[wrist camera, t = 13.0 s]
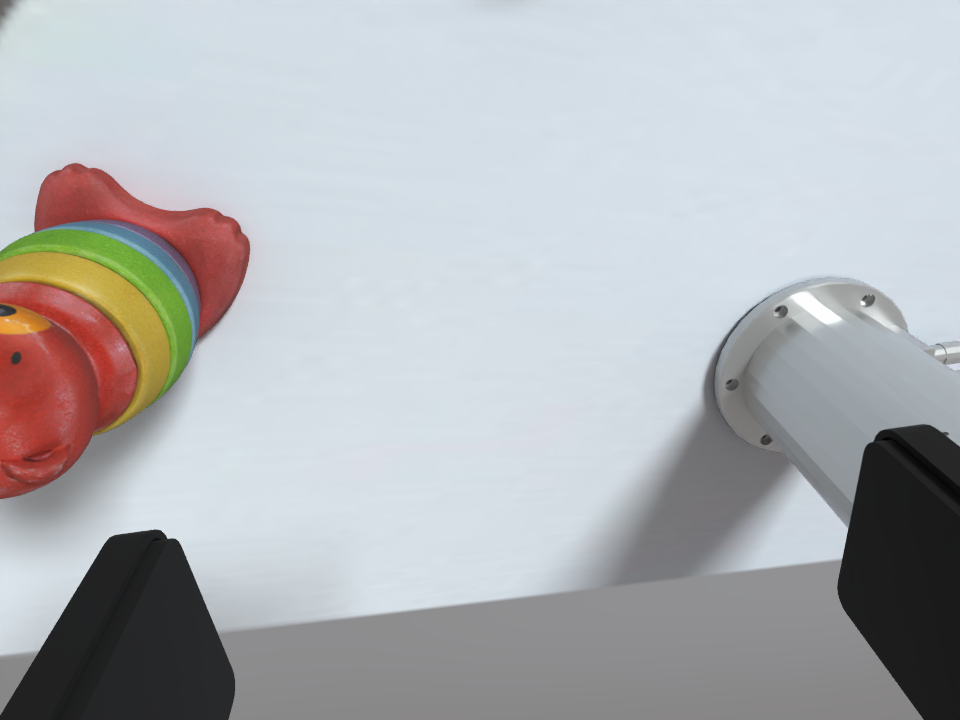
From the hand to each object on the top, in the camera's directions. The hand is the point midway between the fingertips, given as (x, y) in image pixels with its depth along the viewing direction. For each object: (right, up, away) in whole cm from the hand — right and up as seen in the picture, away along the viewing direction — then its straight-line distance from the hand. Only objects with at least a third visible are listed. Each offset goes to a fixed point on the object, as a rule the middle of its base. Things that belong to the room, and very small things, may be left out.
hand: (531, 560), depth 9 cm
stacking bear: (-20, +8, +28) cm, 36 cm away
